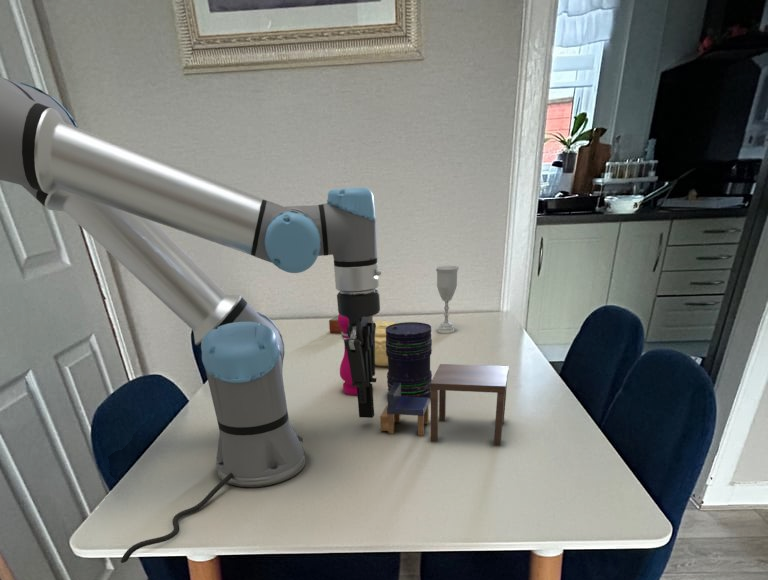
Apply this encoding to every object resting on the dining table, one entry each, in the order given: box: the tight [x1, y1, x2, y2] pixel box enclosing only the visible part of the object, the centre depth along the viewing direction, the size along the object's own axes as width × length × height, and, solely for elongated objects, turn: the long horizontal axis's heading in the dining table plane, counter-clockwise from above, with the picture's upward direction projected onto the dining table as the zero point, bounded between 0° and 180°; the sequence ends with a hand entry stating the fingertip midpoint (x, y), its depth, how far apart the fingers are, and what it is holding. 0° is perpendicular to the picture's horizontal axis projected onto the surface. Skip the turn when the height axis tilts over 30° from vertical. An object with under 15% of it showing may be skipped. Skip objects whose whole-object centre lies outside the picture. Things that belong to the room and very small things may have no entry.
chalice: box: [435, 265, 460, 334], centre depth 161 cm, size 7×7×18 cm
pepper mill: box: [337, 313, 358, 396], centre depth 120 cm, size 7×7×20 cm
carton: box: [328, 314, 374, 335], centre depth 174 cm, size 8×16×4 cm, turn 158°
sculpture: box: [373, 320, 397, 367], centre depth 139 cm, size 12×12×11 cm
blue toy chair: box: [379, 383, 430, 436], centre depth 104 cm, size 8×6×8 cm
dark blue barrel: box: [385, 321, 433, 400], centre depth 117 cm, size 10×10×15 cm
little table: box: [430, 363, 510, 447], centre depth 101 cm, size 11×13×11 cm
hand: (366, 415), depth 107 cm, fingers closed
